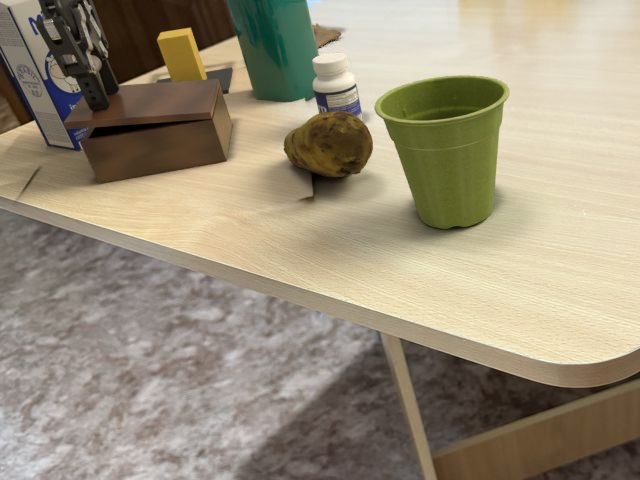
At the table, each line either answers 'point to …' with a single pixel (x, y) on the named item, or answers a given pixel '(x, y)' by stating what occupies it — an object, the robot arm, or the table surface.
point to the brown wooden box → (158, 146)
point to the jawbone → (324, 35)
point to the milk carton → (39, 73)
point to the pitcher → (276, 47)
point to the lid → (148, 104)
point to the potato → (330, 144)
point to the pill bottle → (335, 85)
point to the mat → (221, 75)
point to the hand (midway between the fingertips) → (106, 100)
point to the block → (181, 55)
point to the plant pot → (447, 144)
